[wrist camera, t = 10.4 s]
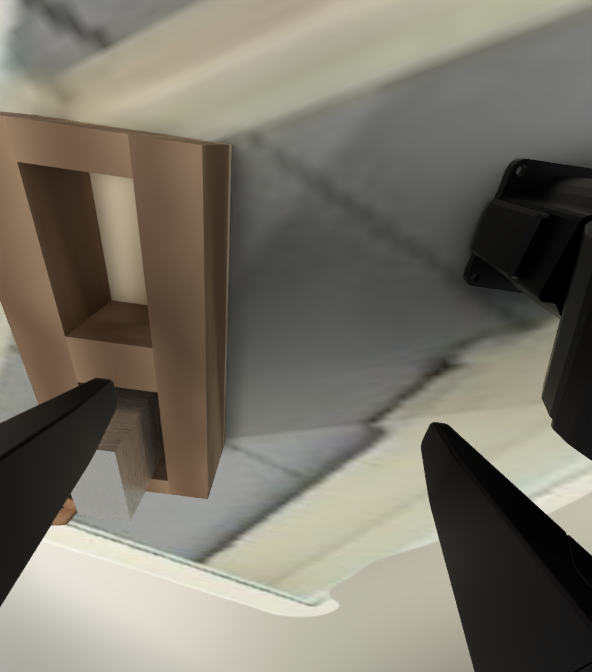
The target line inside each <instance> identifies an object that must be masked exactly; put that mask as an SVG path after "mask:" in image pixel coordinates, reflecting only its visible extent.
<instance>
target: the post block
mask: <svg viewBox="0 0 592 672" xmlns="http://www.w3.org/2000/svg"><path fill="white" fill-rule="evenodd" d="M231 153H232V145H231V144H224V143H217V142H211V141H204V140H197V139H191V138H184V137H177V136H171V135H164V134H157V133H150V132H144V131H137V130H130V129H124V128H117V127H110V126H104V125H97V124H90V123H83V122H77V121H70V120H63V119H57V118H50V117H43V116H37V115H29V114H20V113H10V112H0V301H1V304H2V306H3V309H4V312H5V315H6V317H7V320H8V323H9V325H10V328H11V331H12V334H13V336H14V339H15V342H16V344H17V347H18V350H19V353H20V355H21V358H22V361H23V363H24V366H25V369H26V372H27V374H28V377H29V380H30V382H31V385H32V388H33V391H34V393H35V396H36V399H37V401H38V404H41V403H44V402H46V401H48V400H50V399H52V398H54V397H56V396H58V395H60V394H62V393H65V392H67V391H69V390H71V389H73V388H75V387H77V386H79V385H81V384H83V383H86V382H88V381H90V380H92V379H94V378H105V379H110V380H112V381H113V383H114V387H119V388H127V389H135V390H142V391H150V392H157V393H158V400H159V409H160V417H161V426H162V435H163V443H164V454H163V456H162V458H161V460H160V462H159V464H158V466H157V468H156V470H155V472H154V474H153V476H152V478H151V480H150V483H149V485H148V487H147V489H146V491H148V492H156V493H164V494H172V495H180V496H188V497H196V498H204V499H208V497H209V494H210V490H211V487H212V484H213V480H214V477H215V474H216V470H217V467H218V464H219V460H220V457H221V454H222V450H223V447H224V444H225V404H226V362H227V320H228V278H229V236H230V195H231Z"/></svg>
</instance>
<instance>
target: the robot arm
mask: <svg viewBox="0 0 592 672" xmlns="http://www.w3.org/2000/svg"><path fill="white" fill-rule="evenodd" d="M521 165H522V166H523V171H522V173H521V174H519V175H517V174H516V171H517V169H518V167H519V166H521ZM472 251H473V254H472V256H471V259H470V261H469V264H468V266H467V269H466V271H465V273H464V280H465V281H466V282H467V283H468V284H469V285H472V286H478V287H485V288H492V289H499V290H506V291H513V292H520V293H524V294H526V295H527V296H529V297H530V298H531V299H533V300H534V301H536V302H537V303H538V304H540V305H541V306H542V307H544V308H545V309H547V310H548V311H549V312H551V313H552V314H554V315H555V316H556V317H558V318H559V319H560V323H559V326H558V330H557V334H556V338H555V342H554V345H553V349H552V353H551V357H550V361H549V365H548V368H547V372H546V376H545V380H544V384H543V391H542V400H543V402H544V404H545V407H546V409H547V411H548V413H549V416H550V417H551V418H552V419H553V420H552V423H551V426H552V428H553V430H554V431H555V432H556V433H557V434H559V435H560V436H561V437H562V438H563V439H564V440H565V441H566V442H567V443H568V444H569V445H570V446H572V447H573V448H575V449H576V450H577V451H579V452H580V453H582V454H583V455H584V456H586V457H587V458H589V459H590V460H592V169H590V168H583V167H577V166H570V165H563V164H557V163H550V162H544V161H537V160H530V159H517V160H515V161H513V162H512V163H511V164H510V166H509V167H508V169H507V172H506V174H505V176H504V179H503V181H502V184H501V186H500V189H499V191H498V193H497V196H496V198H495V200H494V201H492V202H491V203H490V205H489V207H488V210H487V212H486V215H485V217H484V219H483V222H482V224H481V227H480V229H479V232H478V234H477V237H476V239H475V242H474V244H473V246H472ZM475 273H477V277H476V278H474V279H471V276H472V275H473V274H475ZM116 408H117V397H116V392H115V387H114V383H113V381H112V380H110V379H105V378H94V379H92V380H90V381H88V382H86V383H83V384H81V385H79V386H77V387H75V388H73V389H71V390H69V391H67V392H65V393H62V394H60V395H58V396H56V397H54V398H52V399H50V400H48V401H46V402H44V403H41V404H39V405H37V406H35V407H33V408H31V409H29V410H27V411H25V412H23V413H20V414H18V415H16V416H14V417H12V418H10V419H8V420H6V421H4V422H2V423H0V606H1V605H2V603H3V602H4V600H5V599H6V597H7V595H8V594H9V592H10V590H11V589H12V587H13V585H14V584H15V582H16V581H17V579H18V578H19V576H20V574H21V573H22V571H23V569H24V568H25V566H26V565H27V563H28V561H29V560H30V558H31V557H32V555H33V553H34V552H35V550H36V549H37V547H38V545H39V544H40V542H41V541H42V539H43V537H44V536H45V534H46V533H47V531H48V529H49V528H50V526H51V525H52V523H53V521H54V520H55V518H56V517H57V515H58V513H59V512H60V510H61V508H62V507H63V505H64V504H65V502H66V500H67V499H68V497H69V496H70V494H71V492H72V491H73V489H74V488H75V486H76V484H77V483H78V481H79V480H80V478H81V476H82V475H83V473H84V471H85V470H86V468H87V467H88V465H89V463H90V462H91V460H92V458H93V456H94V454H95V452H96V450H97V448H98V446H99V444H100V442H101V440H102V438H103V436H104V434H105V432H106V430H107V427H108V425H109V423H110V421H111V419H112V417H113V415H114V413H115V411H116ZM421 452H422V458H423V465H424V471H425V478H426V484H427V491H428V497H429V502H430V506H431V510H432V514H433V518H434V522H435V525H436V529H437V533H438V537H439V540H440V544H441V548H442V552H443V555H444V559H445V563H446V567H447V570H448V574H449V578H450V581H451V585H452V589H453V593H454V597H455V600H456V604H457V608H458V612H459V615H460V618H461V623H462V627H463V630H464V634H465V638H466V642H467V645H468V649H469V653H470V656H471V660H472V664H473V668H474V671H475V672H592V555H590V554H589V553H588V552H587V551H586V550H585V549H584V548H583V547H582V546H581V545H579V544H578V543H577V542H576V541H575V540H574V539H573V538H572V537H571V536H569V535H566V532H565V531H564V530H563V529H562V528H561V527H560V526H559V525H557V524H556V523H555V522H554V521H553V520H552V519H551V518H550V517H549V516H548V515H546V514H545V513H544V512H543V511H542V510H541V509H540V508H539V507H538V506H537V505H536V504H534V503H533V502H532V501H531V500H530V499H529V498H528V497H527V496H526V495H525V494H523V493H522V492H521V491H520V490H519V489H518V488H517V487H516V486H515V485H514V484H513V483H511V482H510V481H509V480H508V479H507V478H506V477H505V476H504V475H503V474H502V473H500V472H499V471H498V470H497V469H496V468H495V467H494V466H493V465H492V464H491V463H490V462H488V461H487V460H486V459H485V458H484V457H483V456H482V455H481V454H480V453H479V452H477V451H476V450H475V449H474V448H473V447H472V446H471V445H470V444H469V443H468V442H467V441H465V440H464V439H463V438H462V437H461V436H460V435H459V434H458V433H457V432H456V431H454V430H453V429H452V428H451V427H450V426H449V425H447V424H445V423H438V422H433V423H431V424H430V426H429V428H428V430H427V432H426V434H425V436H424V438H423V440H422V443H421Z"/></svg>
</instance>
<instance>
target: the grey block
mask: <svg viewBox="0 0 592 672" xmlns="http://www.w3.org/2000/svg"><path fill="white" fill-rule="evenodd" d="M115 392H116V397H117V408H116V411H115V413H114V415H113V417H112V419H111V421H110V423H109V425H108V427H107V430H106V432H105V434H104V436H103V438H102V440H101V442H100V444H99V446H98V448H97V450H96V452H95V454H94V456H93V458H92V460H91V462H90V463H89V465H88V467H87V468H86V470H85V471H84V473H83V475H82V476H81V478H80V480H79V481H78V483H77V484H76V486H75V488H74V489H73V491H72V492H71V496H72V499H73V501H74V504H75V507H76V510H77V512H78V515H84V516H92V517H100V518H108V519H116V520H124V521H131V519H132V517H133V515H134V513H135V511H136V509H137V507H138V505H139V503H140V501H141V499H142V497H143V495H144V493H145V491H146V489H147V487H148V485H149V483H150V480H151V478H152V476H153V474H154V472H155V470H156V468H157V466H158V464H159V462H160V460H161V458H162V456H163V454H164V443H163V435H162V426H161V417H160V409H159V400H158V393H157V392H150V391H142V390H135V389H127V388H119V387H115Z"/></svg>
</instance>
